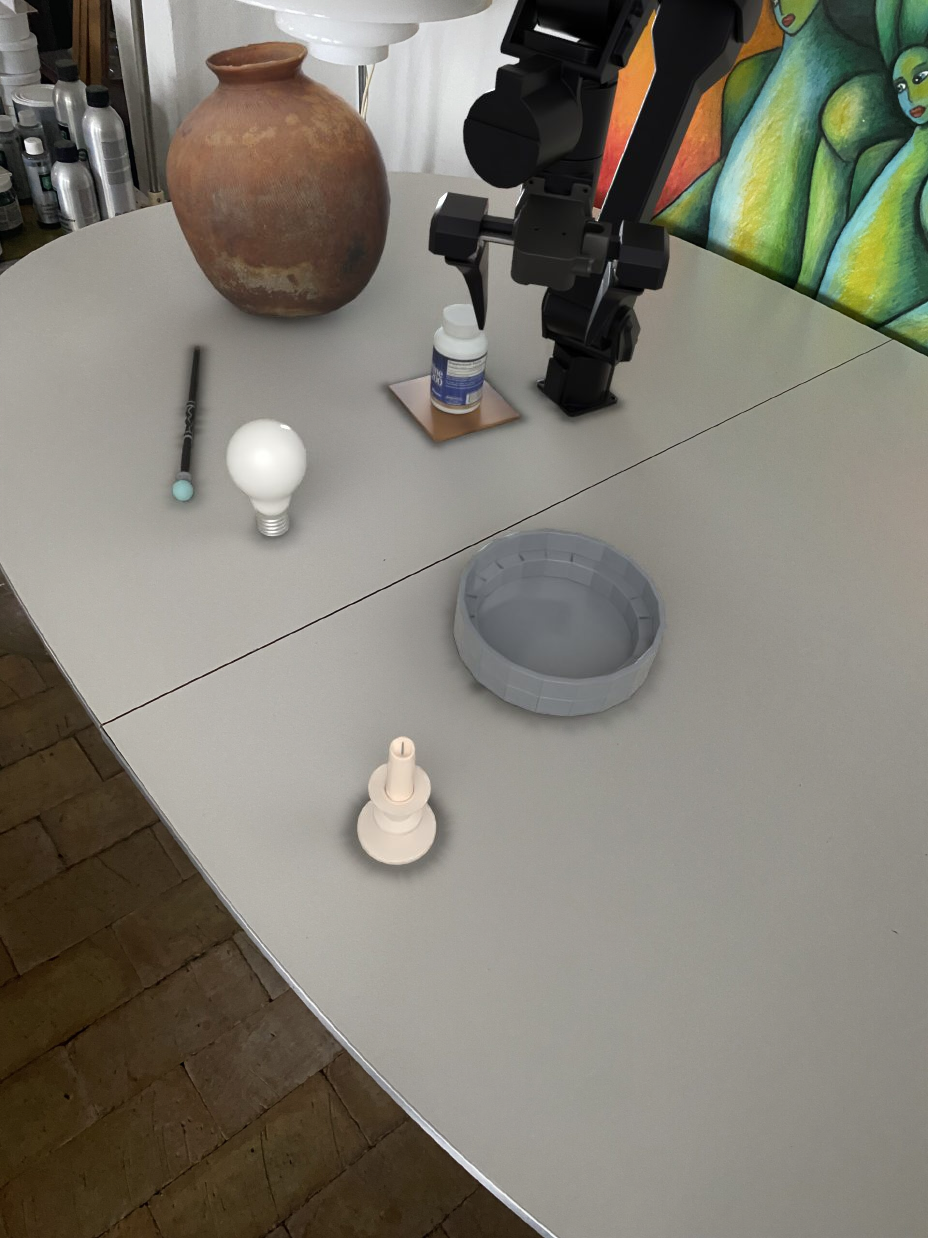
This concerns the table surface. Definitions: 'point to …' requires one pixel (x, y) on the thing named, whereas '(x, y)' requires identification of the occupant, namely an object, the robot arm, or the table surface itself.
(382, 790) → the candle
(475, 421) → the coaster
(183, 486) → the magic wand
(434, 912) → the table surface
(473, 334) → the pill bottle
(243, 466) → the lightbulb
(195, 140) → the pottery
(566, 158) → the robot arm
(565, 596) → the basin
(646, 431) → the table surface
